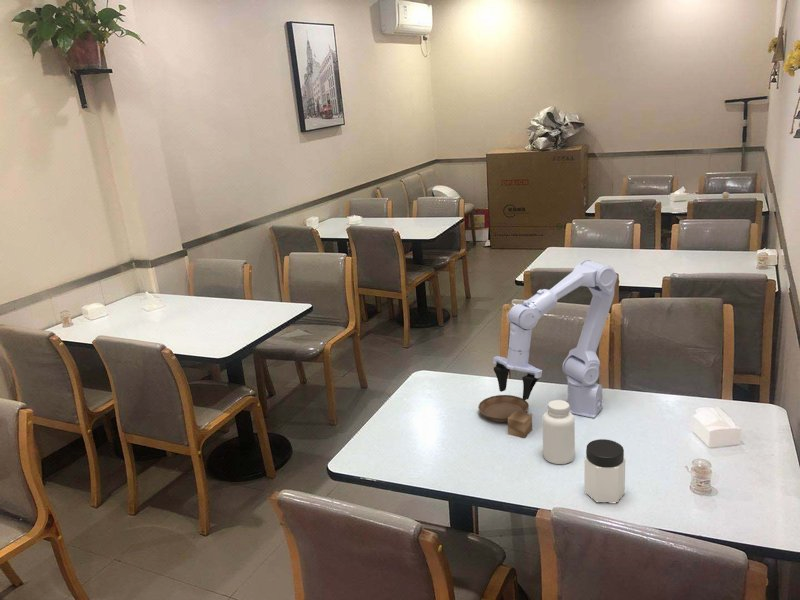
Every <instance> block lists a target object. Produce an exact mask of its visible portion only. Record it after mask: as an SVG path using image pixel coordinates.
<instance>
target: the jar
mask: <svg viewBox="0 0 800 600" xmlns="http://www.w3.org/2000/svg"><path fill="white" fill-rule="evenodd" d="M624 451H625V450H624V447H623V445H621V444H620V443H619V442H616V441H615V440H611V439H606V438H605V439H604V438H603V439H602V438H601V439H595V440H591V441H590V442H588V443H587V445H586V450H585V454H586V456H585V457H584V478H583V479H584V487H583V488H584V489H583V490H584V491H583V492H584V493H585V492H586V493H587V494H588V495H589V496H591V498H590V499H592V498H593V499H594V500H595V501H598V502H618V503H619V501H620V500H621V499H622V498H623V496H624V495H625V492H626V491H625V486H626V484H625V483H626V458H625V452H624ZM586 493H585V494H586ZM587 494H586V495H587ZM623 494H624V495H623ZM588 495H587V496H588ZM622 495H623V496H622ZM589 496H588V497H589ZM620 498H621V499H620ZM593 499H592V500H593ZM619 499H620V500H619ZM594 500H593V501H594ZM595 501H594V502H595Z"/></svg>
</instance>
